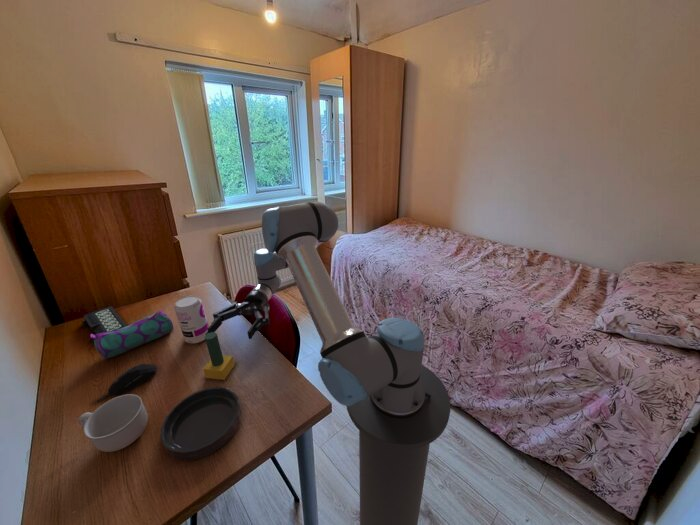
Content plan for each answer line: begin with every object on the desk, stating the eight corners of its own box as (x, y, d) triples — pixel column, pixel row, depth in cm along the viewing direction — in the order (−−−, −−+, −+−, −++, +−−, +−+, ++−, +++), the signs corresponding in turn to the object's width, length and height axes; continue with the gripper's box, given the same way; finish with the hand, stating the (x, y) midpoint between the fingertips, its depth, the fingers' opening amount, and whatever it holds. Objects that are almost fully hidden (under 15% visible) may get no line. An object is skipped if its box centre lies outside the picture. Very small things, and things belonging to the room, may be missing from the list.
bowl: (253, 399, 77) (251, 390, 75) (217, 467, 61) (214, 457, 60) (195, 393, 79) (192, 384, 78) (147, 456, 64) (141, 446, 62)
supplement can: (211, 327, 106) (201, 292, 100) (209, 341, 99) (199, 304, 93) (186, 332, 104) (175, 297, 97) (183, 347, 97) (171, 310, 90)
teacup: (162, 420, 72) (152, 397, 69) (123, 464, 62) (110, 441, 59) (117, 410, 75) (105, 388, 71) (73, 452, 65) (57, 429, 62)
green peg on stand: (234, 364, 89) (226, 329, 83) (224, 379, 83) (214, 343, 78) (217, 363, 90) (207, 328, 84) (205, 377, 84) (194, 341, 79)
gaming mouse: (93, 395, 79) (88, 385, 77) (152, 364, 90) (148, 354, 88) (100, 408, 76) (94, 397, 74) (161, 373, 86) (157, 363, 84)
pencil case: (167, 324, 108) (160, 303, 104) (176, 334, 103) (169, 312, 99) (99, 354, 94) (87, 330, 90) (105, 367, 89) (92, 343, 85)
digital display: (78, 315, 109) (110, 305, 116) (81, 322, 110) (113, 311, 117) (91, 338, 97) (126, 324, 104) (95, 346, 98) (129, 332, 105)
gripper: (290, 308, 109) (267, 346, 90) (229, 304, 113) (196, 339, 94) (288, 291, 106) (264, 327, 87) (226, 288, 110) (190, 321, 90)
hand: (228, 333), depth 90 cm, fingers open, 13 cm apart
